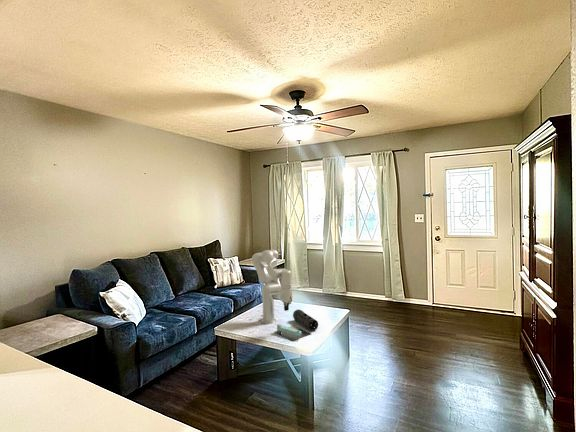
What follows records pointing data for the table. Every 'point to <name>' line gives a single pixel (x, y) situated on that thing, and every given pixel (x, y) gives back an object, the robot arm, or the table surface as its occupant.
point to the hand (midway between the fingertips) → (286, 310)
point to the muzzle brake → (305, 320)
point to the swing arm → (288, 330)
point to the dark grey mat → (291, 336)
